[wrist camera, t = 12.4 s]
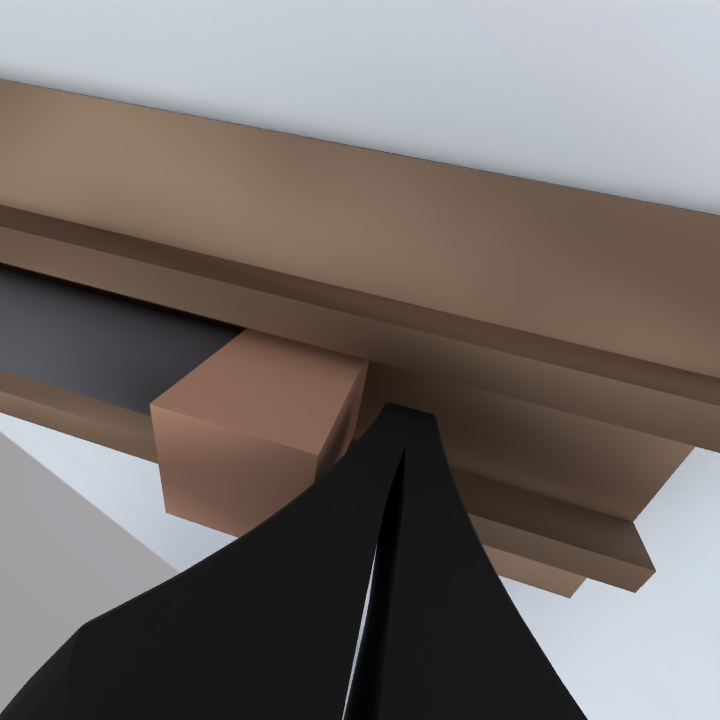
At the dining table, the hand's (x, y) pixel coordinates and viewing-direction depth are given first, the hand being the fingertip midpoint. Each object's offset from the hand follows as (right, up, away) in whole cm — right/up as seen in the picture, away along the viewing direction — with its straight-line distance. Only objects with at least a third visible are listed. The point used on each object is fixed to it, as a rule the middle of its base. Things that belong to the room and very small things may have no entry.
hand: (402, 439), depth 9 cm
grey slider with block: (-9, +3, +3) cm, 10 cm away
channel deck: (-4, +3, +4) cm, 6 cm away
